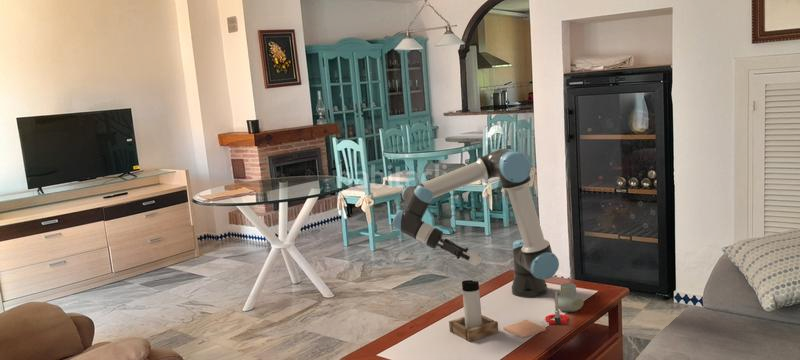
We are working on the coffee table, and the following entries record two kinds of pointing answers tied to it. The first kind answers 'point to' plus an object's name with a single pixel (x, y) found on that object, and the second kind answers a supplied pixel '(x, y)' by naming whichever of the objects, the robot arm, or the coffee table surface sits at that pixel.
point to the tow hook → (556, 314)
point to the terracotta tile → (524, 328)
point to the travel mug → (471, 304)
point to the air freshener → (569, 298)
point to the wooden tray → (474, 333)
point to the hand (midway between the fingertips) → (479, 262)
